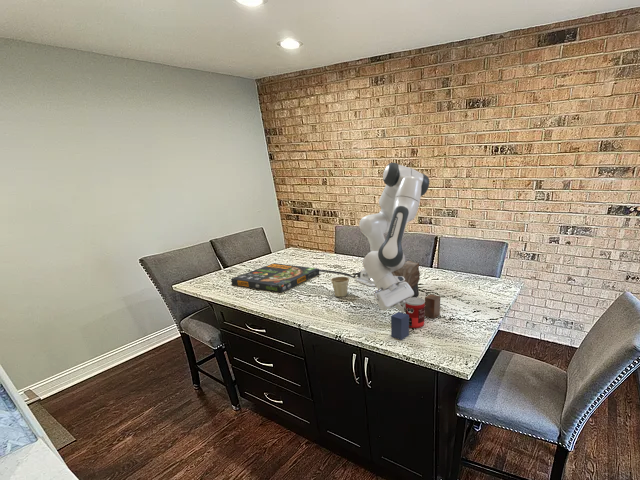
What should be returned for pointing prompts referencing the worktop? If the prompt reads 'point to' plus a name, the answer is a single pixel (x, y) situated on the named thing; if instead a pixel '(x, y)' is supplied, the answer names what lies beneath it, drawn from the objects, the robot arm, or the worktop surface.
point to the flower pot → (340, 286)
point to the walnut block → (432, 306)
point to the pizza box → (275, 277)
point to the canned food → (415, 311)
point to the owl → (410, 275)
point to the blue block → (399, 325)
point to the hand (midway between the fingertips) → (405, 311)
